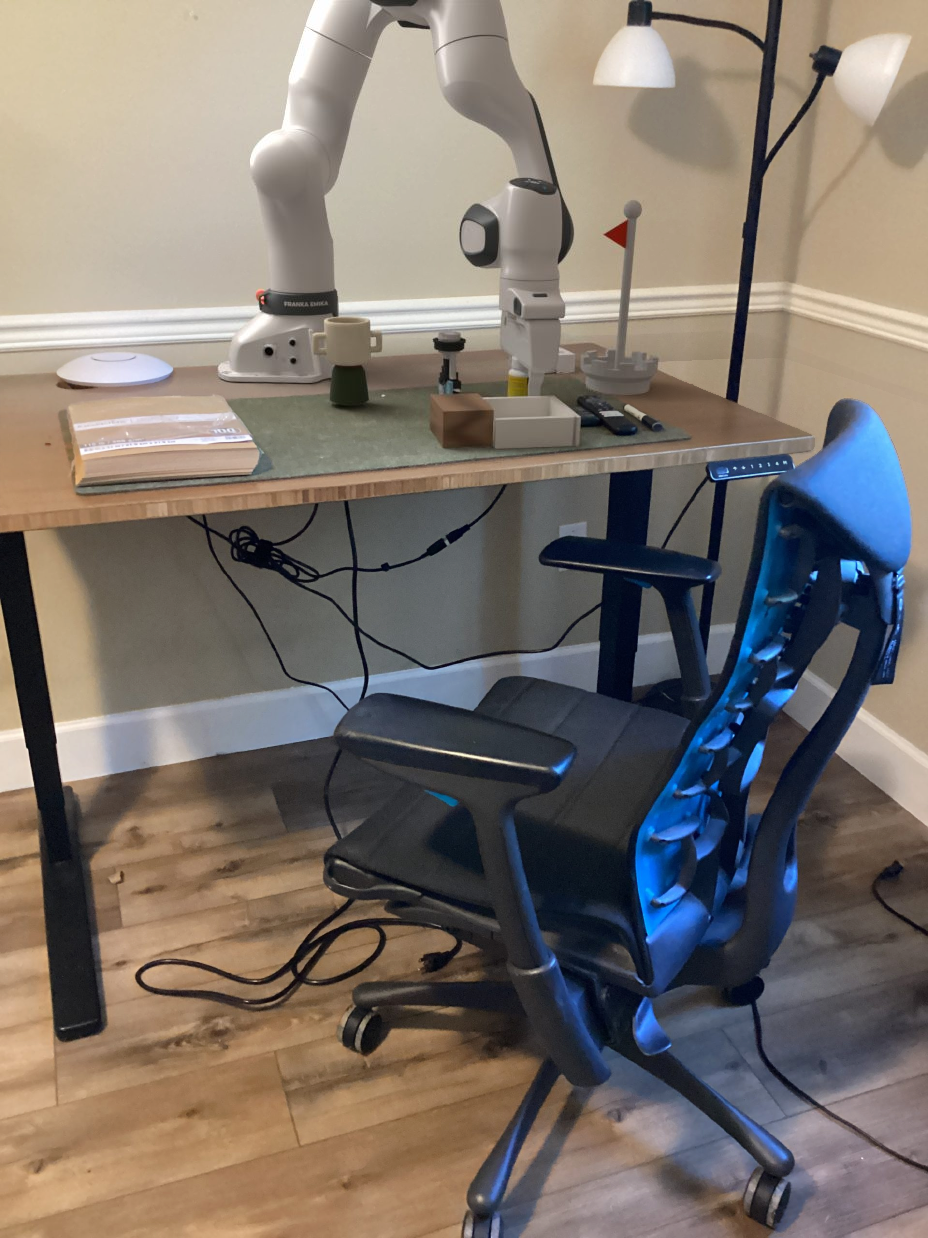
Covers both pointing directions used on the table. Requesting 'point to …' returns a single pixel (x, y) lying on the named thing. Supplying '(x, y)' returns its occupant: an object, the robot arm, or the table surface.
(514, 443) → the grey tray
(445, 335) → the push button
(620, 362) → the flag stand
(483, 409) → the walnut step
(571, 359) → the bracket
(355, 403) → the cream and green trophy
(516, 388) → the supplement bottle
